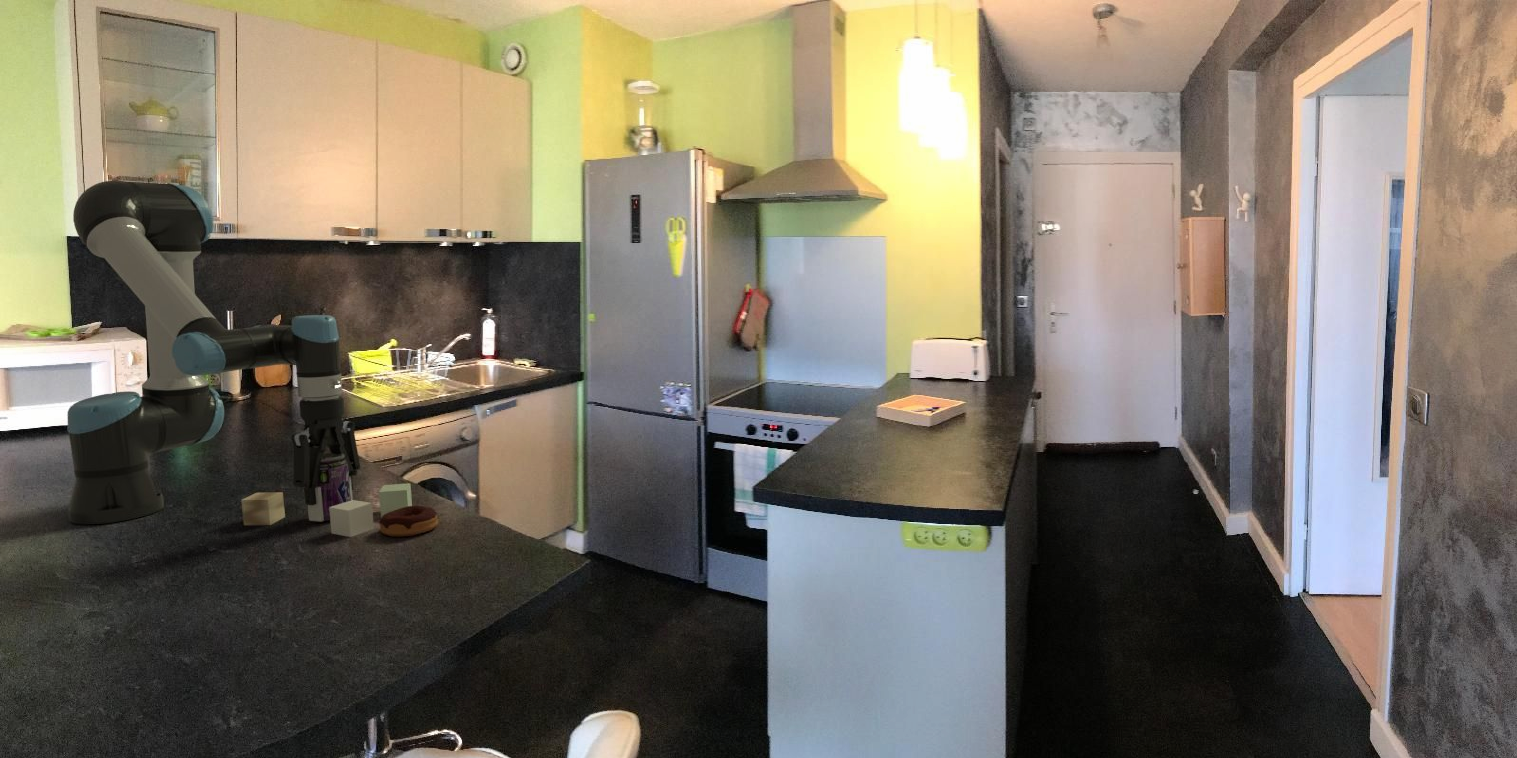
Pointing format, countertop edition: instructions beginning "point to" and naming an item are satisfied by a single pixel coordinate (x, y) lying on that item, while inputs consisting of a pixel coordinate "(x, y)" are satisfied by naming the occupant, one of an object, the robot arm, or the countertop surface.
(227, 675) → the countertop surface
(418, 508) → the donut
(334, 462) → the beverage can
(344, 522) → the off-white cube
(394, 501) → the sage cube
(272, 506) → the beech cube
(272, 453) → the countertop surface
